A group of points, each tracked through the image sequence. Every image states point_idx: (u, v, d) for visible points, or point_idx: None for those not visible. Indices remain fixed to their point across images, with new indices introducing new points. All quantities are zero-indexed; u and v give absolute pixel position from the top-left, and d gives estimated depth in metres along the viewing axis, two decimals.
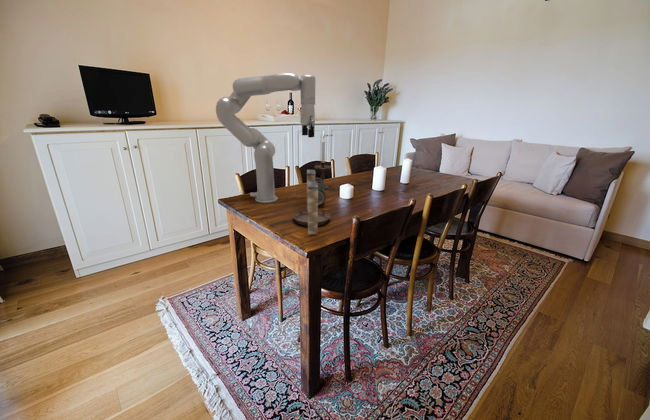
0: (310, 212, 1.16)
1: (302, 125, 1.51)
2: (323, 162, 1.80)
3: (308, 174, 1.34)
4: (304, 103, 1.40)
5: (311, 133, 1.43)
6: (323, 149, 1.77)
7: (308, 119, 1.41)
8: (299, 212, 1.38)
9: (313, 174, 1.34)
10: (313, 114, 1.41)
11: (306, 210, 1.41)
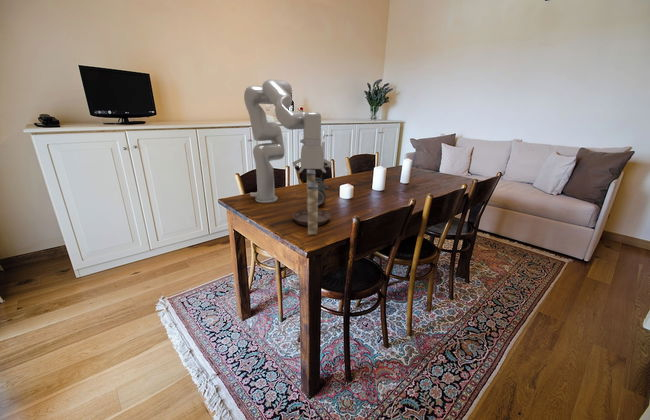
0: (310, 212, 1.16)
1: (301, 170, 1.24)
2: None
3: (308, 174, 1.34)
4: (318, 145, 1.19)
5: None
6: (323, 149, 1.77)
7: (323, 162, 1.23)
8: (299, 212, 1.38)
9: (313, 174, 1.34)
10: None
11: (306, 210, 1.41)
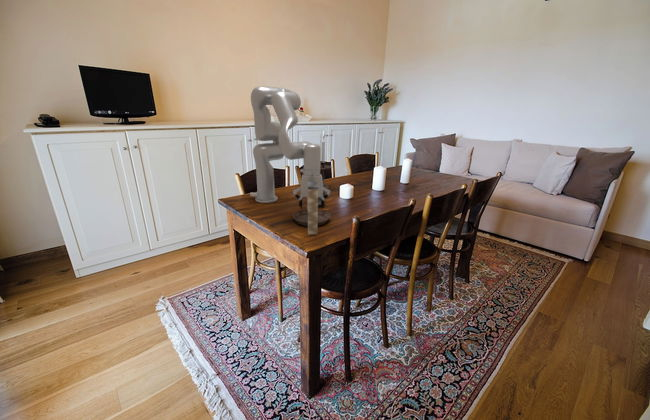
0: (310, 212, 1.16)
1: (300, 198, 1.29)
2: (323, 162, 1.80)
3: None
4: (317, 175, 1.24)
5: None
6: (323, 149, 1.77)
7: (322, 190, 1.28)
8: (299, 212, 1.38)
9: None
10: None
11: (306, 210, 1.41)
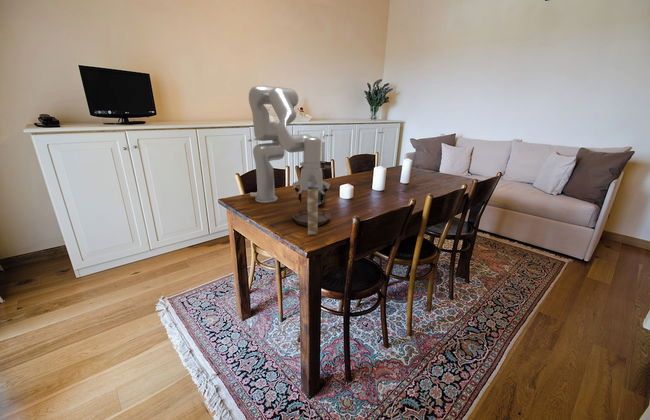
0: (310, 212, 1.16)
1: (300, 191, 1.28)
2: (323, 162, 1.80)
3: None
4: (317, 168, 1.23)
5: (323, 197, 1.31)
6: (323, 149, 1.77)
7: (322, 184, 1.27)
8: (299, 212, 1.38)
9: None
10: None
11: (306, 210, 1.41)
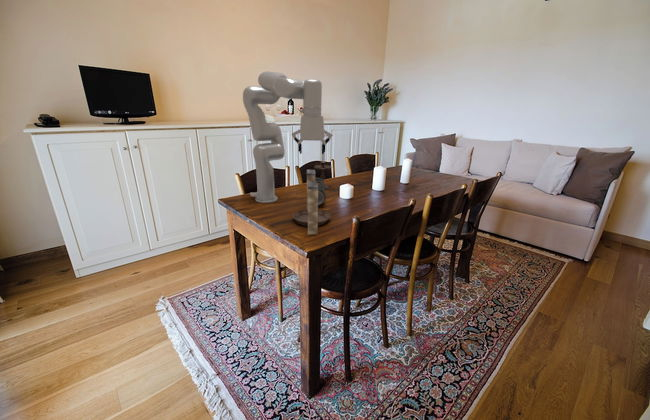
0: (310, 212, 1.16)
1: (300, 141, 1.20)
2: (323, 162, 1.80)
3: (308, 174, 1.34)
4: (318, 114, 1.15)
5: None
6: None
7: (324, 133, 1.19)
8: (299, 212, 1.38)
9: (313, 174, 1.34)
10: None
11: (306, 210, 1.41)
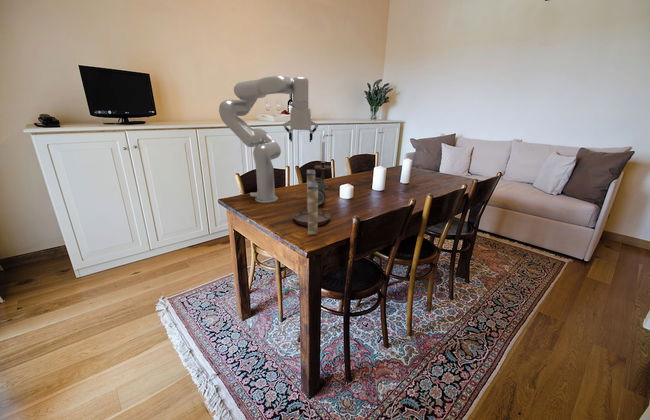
0: (310, 212, 1.16)
1: (290, 130, 1.38)
2: (323, 162, 1.80)
3: (308, 174, 1.34)
4: (305, 107, 1.33)
5: None
6: (323, 149, 1.77)
7: (311, 123, 1.37)
8: (299, 212, 1.38)
9: (313, 174, 1.34)
10: None
11: (306, 210, 1.41)
